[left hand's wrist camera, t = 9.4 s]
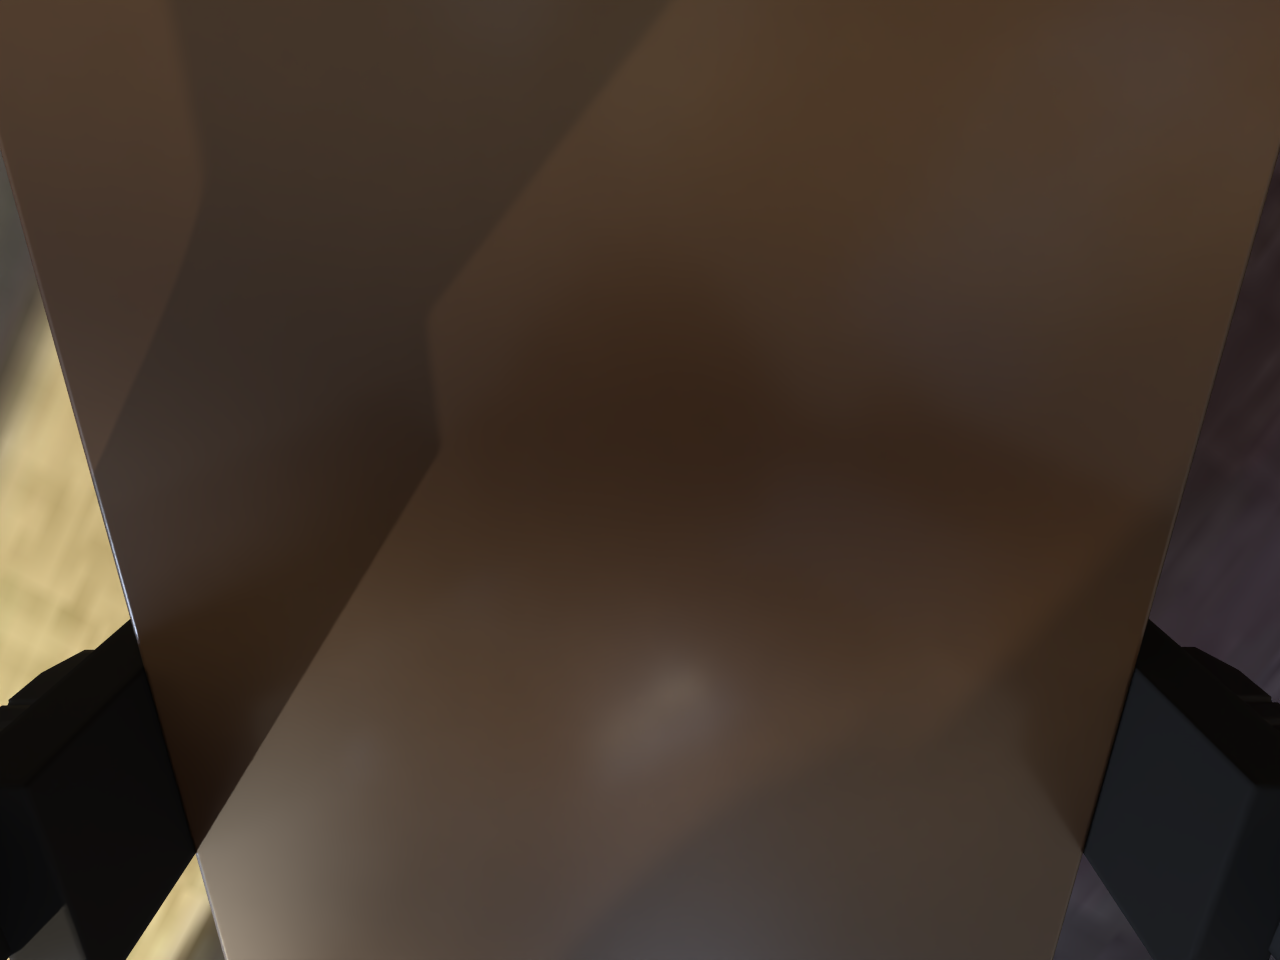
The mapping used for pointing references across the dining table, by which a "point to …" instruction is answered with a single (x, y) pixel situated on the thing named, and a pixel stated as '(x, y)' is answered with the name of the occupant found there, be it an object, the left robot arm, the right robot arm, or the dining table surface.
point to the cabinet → (639, 443)
